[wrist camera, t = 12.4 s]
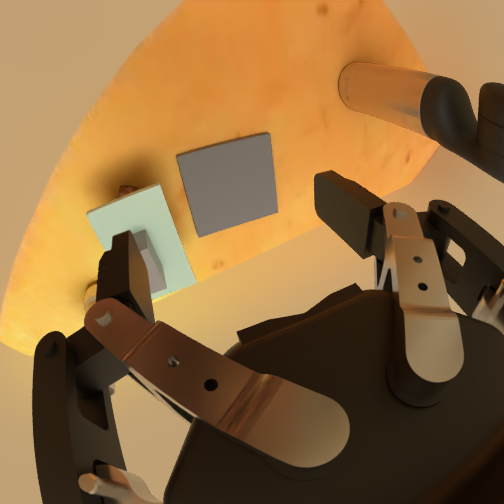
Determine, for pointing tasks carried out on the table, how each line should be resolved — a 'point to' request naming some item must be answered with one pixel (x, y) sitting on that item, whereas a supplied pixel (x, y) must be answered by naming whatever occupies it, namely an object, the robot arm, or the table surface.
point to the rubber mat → (229, 183)
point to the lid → (147, 236)
